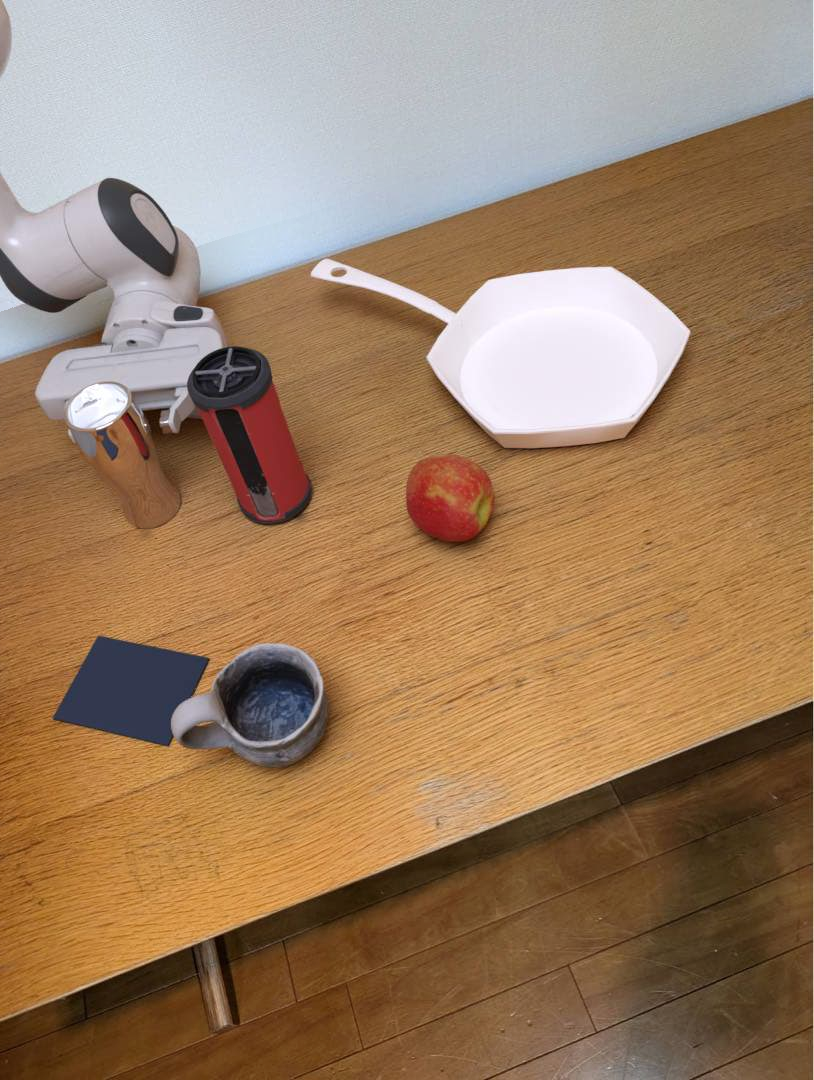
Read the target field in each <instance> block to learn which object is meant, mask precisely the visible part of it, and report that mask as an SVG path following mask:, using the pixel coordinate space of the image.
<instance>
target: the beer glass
mask: <svg viewBox="0 0 814 1080" xmlns="http://www.w3.org/2000/svg"><path fill="white" fill-rule="evenodd" d="M63 421H64V422H65V424H66V425H67V427H68V430H69V429H70V432H71V434H72V436H73V438H74V440H75V442H76V446H77V448H78V450H79V452H80V453H81V455H82V456H83V457H84V459H85V461H86V463H88V465H89V466H90V468H91V469H93V471H94V472H95V473H96V474H97V475H98V476H99V478H101V479H102V481H103V482H104V483H105V484H106V485H107V486H108V487H109V488H110V489H111V490H112V491H113V492H114V493H115V495H116V496H117V498H118V499H119V501H120V504H121V508H122V511H123V513H124V516H125V520H126V521H127V522H128V523H129V524H130V525H131V526H133V527H135V528H139V529H153V528H156V527H157V528H158V527H159V526H162V525H164V524H166V523H167V522H169V521H170V520H171V519H172V518H173V517H174V516H175V515H176V514H177V512H178V511H179V509H180V507H181V503H182V497H181V493H180V491H179V490H178V488H177V487H176V486H175V484H173V482H172V481H171V480H170V479H169V477H168V476H167V474H166V473H165V471H164V468H163V465H162V460H161V456H160V453H159V449H158V445H157V442H156V441H157V440H156V438H155V436H154V432H153V430H152V428H151V426H150V424H149V421H148V419H147V417H146V416H145V414H144V411H142V410H141V409H140V407H139V405H138V404H137V402H136V401H135V399H134V398H133V396H132V395H131V393H130V391H129V389H128V388H127V387H126V386H125V385H123V384H121V383H118V382H113V381H104V382H98V383H95V384H92V385H89V386H87V387H85V388H83V389H81V390H80V391H78V392H77V393H76V394H75V395H74V396H73V397H72V398H71V399H70V400H69V401H68V403H67V405H66V407H65V409H64V420H63Z"/></svg>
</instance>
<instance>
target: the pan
mask: <svg viewBox="0 0 814 1080" xmlns="http://www.w3.org/2000/svg"><path fill="white" fill-rule="evenodd" d="M336 271H345V272H346V273H345V274H344V275H341V276H333V273H334V272H336ZM310 278H311V279H312V278H313V279H316V280H322V281H327V282H331V283H336V284H341V285H346V286H352V287H355V288H362V289H366V290H370V291H373V292H376V293H380V294H382V295H385V296H388V297H391V298H394V299H396V300H399V301H401V302H404V303H406V304H408V305H410V306H412V307H414V308H417V309H418V310H420V311H422V312H424V313H426V314H429V315H432V316H433V317H435V318H437V319H438V320H441V321H442V322H444V323H446V324H447V325H446V326H445V328H444V329H443V330H442V332H441V333H440V334H439V335H438V336H437V338H436V340H435V342H434V343H433V345H432V346H431V348H430V350H429V352H428V354H427V355H426V357H425V359H426V361H427V362H428V364H429V365H430V367H431V369H432V370H433V372H434V374H435V375H436V377H437V379H438V380H439V382H441V383H442V385H443V386H444V387H445V388H446V389H447V390H448V392H449V393H450V394H451V395H452V397H453V398H454V399H455V400H456V401H457V403H458V404H459V405H460V406H462V408H463V409H464V410H465V412H467V414H468V415H469V416H470V417H471V418H472V419H473V420H474V421H475V423H476V424H478V426H479V427H480V428H481V429H482V430H483V431H484V432H485V433H486V434H488V436H490V437H491V438H492V439H493V440H494V441H495V442H497V443H498V444H499V445H500V446H501V447H503V448H504V449H540V448H542V449H543V448H544V449H545V448H557V447H560V448H561V447H572V446H580V445H590V444H598V443H603V442H608V441H615V440H619V439H625V438H626V436H627V435H628V434H629V433H630V431H632V429H633V428H634V427H635V426H636V424H638V423H639V421H640V420H641V419H642V418H643V416H644V415H645V413H646V412H647V410H648V409H649V408H650V406H651V405H652V403H653V402H654V401H655V399H656V398H657V396H658V395H659V394H660V392H661V390H662V388H663V387H664V385H665V384H666V383H667V382H668V380H669V378H670V376H671V375H672V373H673V371H674V369H675V368H676V366H677V364H678V363H679V361H680V359H681V357H682V356H683V354H684V350H685V349H686V346H687V343H688V341H689V338H690V335H691V330H690V329H689V328H688V327H687V326H686V325H685V323H683V322H682V320H681V319H680V318H679V317H678V316H677V315H676V314H675V312H673V311H672V310H671V309H669V307H667V306H666V305H665V304H664V303H663V302H662V301H661V300H659V299H658V298H657V297H656V296H654V295H653V294H652V293H651V292H649V291H648V289H645V288H644V287H643V286H641V284H639V283H637V282H636V281H635V280H634V279H632V278H631V277H629V276H627V275H626V274H624V273H623V272H621V271H619V270H618V269H616V268H615V267H613V266H587V267H586V266H583V267H582V266H580V267H571V268H570V267H569V268H559V269H548V270H542V271H533V272H525V273H517V274H512V275H506V276H501V277H496V278H492V279H488V280H486V281H485V282H484V283H483V284H482V285H481V286H480V287H479V288H478V289H477V290H476V291H475V292H474V293H473V294H471V296H470V297H469V298H468V299H467V301H466V302H465V303H464V304H463V305H462V306H461V308H459V310H458V311H456V312H454V311H453V310H451V309H449V308H447V307H445V306H444V305H441V304H439V302H437V301H436V300H434V299H432V298H430V297H428V296H426V295H424V294H422V293H419V292H417V291H414V290H412V289H410V288H409V287H408V288H407V287H406V286H402V285H400V284H398V283H395V282H392V281H390V280H388V279H385V278H383V277H380V276H376V275H374V274H371V273H368V272H366V271H363V270H361V269H358V268H355V267H352V266H350V265H347V264H344V263H340V262H338V261H335V260H334V259H331V258H324V259H322V260H320V261H319V262H318V263H317V264H316V265H315V266H314V267H313V269H312V270H311V271H310Z"/></svg>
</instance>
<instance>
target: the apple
mask: <svg viewBox="0 0 814 1080" xmlns="http://www.w3.org/2000/svg"><path fill="white" fill-rule="evenodd" d="M405 491H406V492H405V500H406V501H405V502H406V510H407V513H408V516H409V518H410V519H411V521H412V522H413V524H414V525H416V526H417V527H418V529H420V530H421V531H422V532H424V533H426V534H427V535H428V536H431V537H432V538H435V539H437V540H440V541H444V542H453V543H456V542H466V541H469V540H472V539H474V538H475V537H477V536H478V535H479V534H480V533H481V532H482V530H484V528H485V527H486V525H487V523H488V522H489V520H490V518H491V516H492V513H493V511H494V506H495V505H494V504H495V493H494V492H495V491H494V489H493V484H492V480H491V478H490V476H489V474H488V473H487V471H486V470H485V469H483V467H481V465H479V463H476V462H475V461H473V460H471V459H468V458H466V457H464V456H461V455H457V454H454V453H453V454H452V453H442V454H434V455H430V456H428V457H425V458H423V459H422V460H420V461H418V462H417V463H416V464H415V465H413V466H412V467H411V470H410V472H409V474H408V477H407V481H406V488H405Z"/></svg>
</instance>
